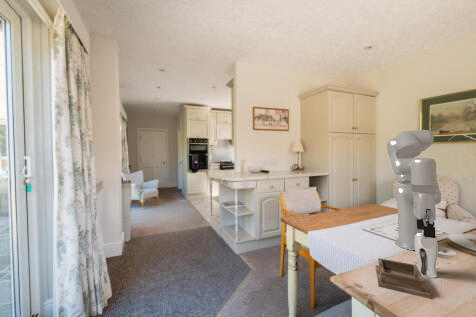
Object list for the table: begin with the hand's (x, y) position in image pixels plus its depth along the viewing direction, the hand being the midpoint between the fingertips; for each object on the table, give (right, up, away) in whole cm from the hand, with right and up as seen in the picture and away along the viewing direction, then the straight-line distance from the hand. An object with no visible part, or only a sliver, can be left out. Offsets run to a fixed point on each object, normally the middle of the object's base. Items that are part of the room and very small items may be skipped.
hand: (425, 233), depth 79 cm
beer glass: (+1, -16, 0) cm, 16 cm away
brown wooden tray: (-13, -17, -4) cm, 22 cm away
